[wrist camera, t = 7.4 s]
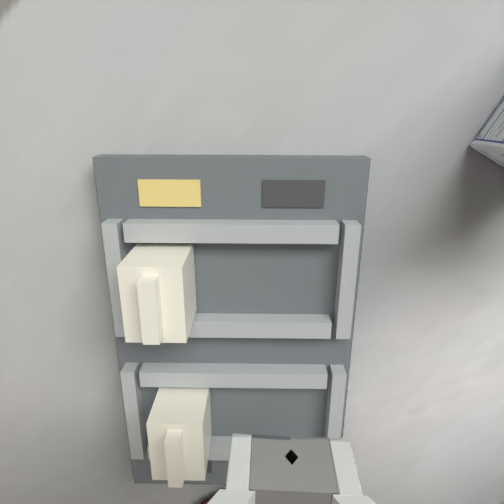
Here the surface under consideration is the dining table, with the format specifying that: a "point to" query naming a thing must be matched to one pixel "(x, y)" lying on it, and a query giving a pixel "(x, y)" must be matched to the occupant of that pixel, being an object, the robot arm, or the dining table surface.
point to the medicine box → (492, 137)
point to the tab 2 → (179, 434)
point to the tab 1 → (158, 293)
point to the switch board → (243, 288)
